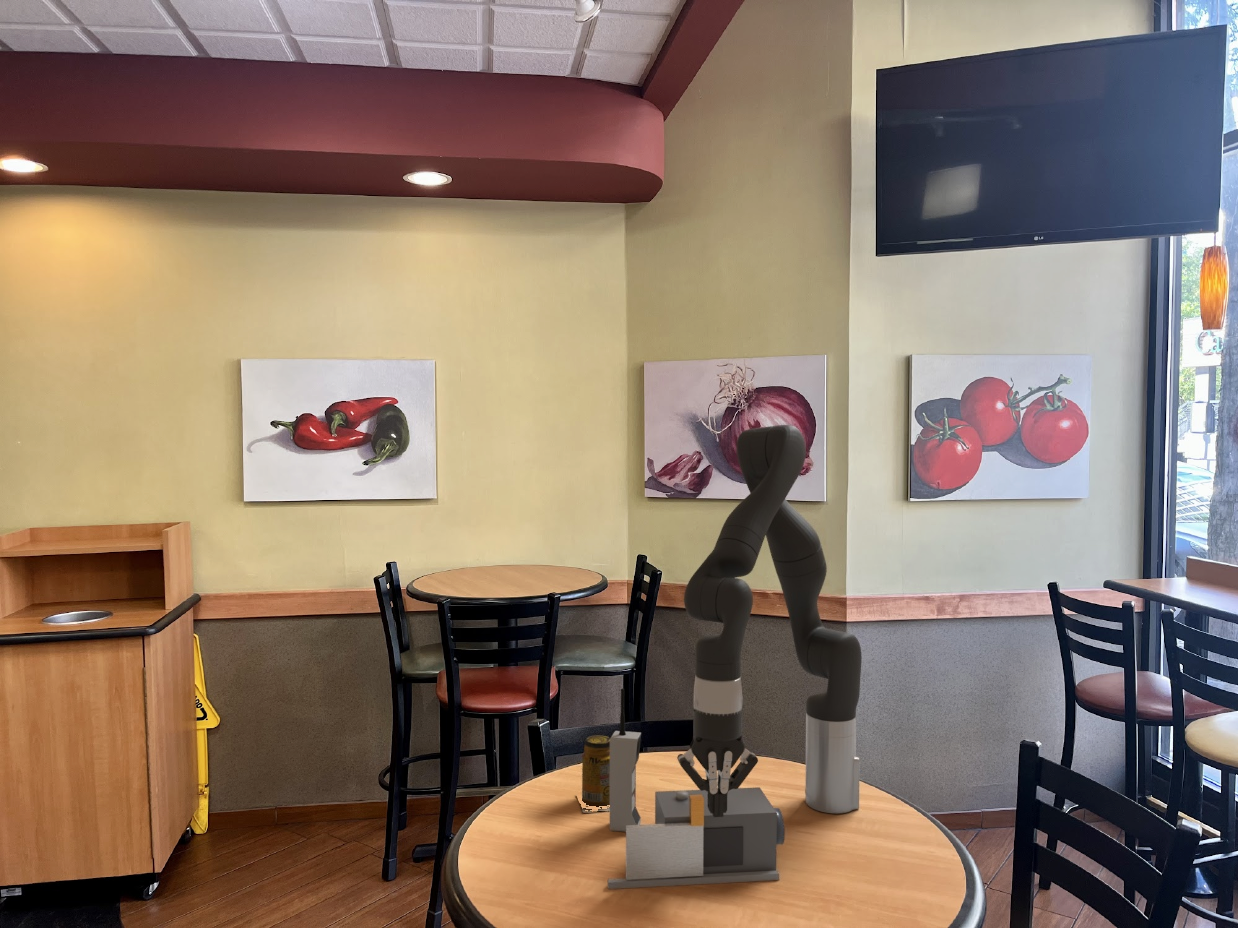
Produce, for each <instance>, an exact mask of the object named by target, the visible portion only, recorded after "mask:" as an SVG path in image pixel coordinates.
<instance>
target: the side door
mask: <svg viewBox="0 0 1238 928" xmlns="http://www.w3.org/2000/svg"><path fill="white" fill-rule="evenodd" d="M689 822H690V823H668V824H655V823H650V824H649V823H648V824H647V823H646V824H640V825H626V832H625V878H626V879H627V880H630V879H650V878H669V877H688V876H703V826H704V798H703V796H702V795H689Z"/></svg>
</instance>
